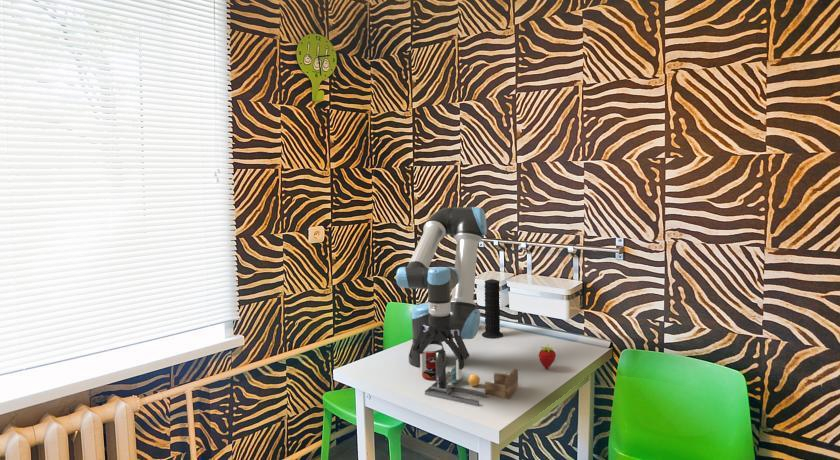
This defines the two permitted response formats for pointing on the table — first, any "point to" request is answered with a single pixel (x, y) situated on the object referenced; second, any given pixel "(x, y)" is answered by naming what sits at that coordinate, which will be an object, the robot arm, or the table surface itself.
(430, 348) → the canned food
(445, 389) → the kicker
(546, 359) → the strawberry
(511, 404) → the table surface
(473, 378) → the ball
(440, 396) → the rail
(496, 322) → the handle grip
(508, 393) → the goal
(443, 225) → the robot arm
